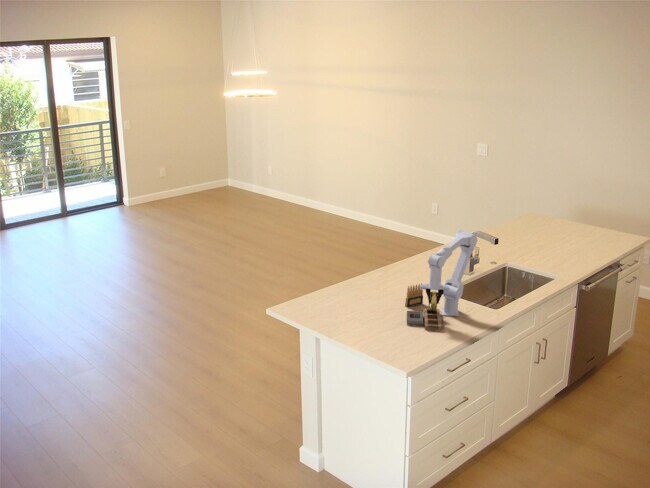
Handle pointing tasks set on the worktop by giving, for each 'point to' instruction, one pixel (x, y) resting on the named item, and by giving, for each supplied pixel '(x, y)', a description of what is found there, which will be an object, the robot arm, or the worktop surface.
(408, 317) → the steel socket
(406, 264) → the worktop surface
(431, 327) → the walnut rack
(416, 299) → the ammunition clip
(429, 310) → the black round bar
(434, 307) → the brass round bar
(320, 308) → the worktop surface
